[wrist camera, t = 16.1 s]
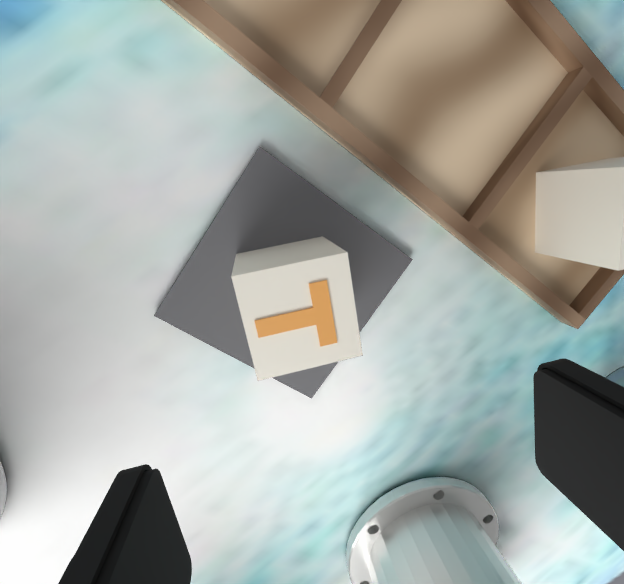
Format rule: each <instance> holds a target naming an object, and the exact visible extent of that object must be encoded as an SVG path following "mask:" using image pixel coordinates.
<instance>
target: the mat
mask: <svg viewBox="0 0 624 584" xmlns="http://www.w3.org/2000/svg"><path fill="white" fill-rule="evenodd" d="M322 236H323V237H324V238H326V239H327V240H329V241H331V242H332V243H334V244H335V245H337V246H339V247H340V248H342V249H343V250H345V251H346V252H348V259H349V266H350V273H351V279H352V286H353V293H354V300H355V306H356V313H357V320H358V327H359V332H360V331H361V330H362V328H363V327H364V326H365V324H366V323H367V321H368V320H369V319H370V317H371V316H372V315H373V313H374V312H375V310H376V309H377V308H378V306H379V305H380V304H381V302H382V301H383V299H384V298H385V297H386V295H387V294H388V293H389V291H390V290H391V288H392V287H393V286H394V284H395V283H396V282H397V280H398V279H399V277H400V276H401V275H402V273H403V272H404V271H405V269H406V268H407V266H408V265H409V264H410V262H411V261H412V260H413V259H411V258H410V257H409V256H407V255H406V254H405V253H403V252H402V251H401V250H399V249H398V248H397V247H395V246H394V245H393V244H391V243H390V242H388V241H387V240H386V239H384V238H383V237H382V236H380V235H379V234H378V233H376V232H375V231H374V230H372V229H371V228H370V227H368V226H367V225H365V224H364V223H363V222H361V221H360V220H359V219H357V218H356V217H355V216H353V215H352V214H351V213H349V212H348V211H347V210H345V209H344V208H343V207H341V206H340V205H338V204H337V203H336V202H334V201H333V200H332V199H330V198H329V197H328V196H326V195H325V194H324V193H322V192H321V191H320V190H318V189H317V188H315V187H314V186H313V185H311V184H310V183H309V182H307V181H306V180H305V179H303V178H302V177H301V176H299V175H298V174H297V173H295V172H294V171H293V170H291V169H290V168H288V167H287V166H286V165H284V164H283V163H282V162H280V161H279V160H278V159H276V158H275V157H274V156H272V155H271V154H270V153H268V152H267V151H266V150H264V149H263V148H261V147H259V148H258V150H257V151H256V153H255V155H254V156H253V158H252V159H251V161H250V163H249V164H248V166H247V167H246V169H245V171H244V172H243V174H242V175H241V177H240V179H239V180H238V182H237V183H236V185H235V187H234V188H233V190H232V191H231V193H230V195H229V196H228V198H227V200H226V201H225V203H224V204H223V206H222V208H221V209H220V211H219V212H218V214H217V216H216V217H215V219H214V220H213V222H212V224H211V225H210V227H209V228H208V230H207V232H206V233H205V235H204V236H203V238H202V240H201V241H200V243H199V244H198V246H197V248H196V249H195V251H194V252H193V254H192V256H191V257H190V259H189V260H188V262H187V264H186V265H185V267H184V268H183V270H182V272H181V273H180V275H179V276H178V278H177V280H176V281H175V283H174V284H173V286H172V288H171V289H170V291H169V292H168V294H167V296H166V297H165V299H164V300H163V302H162V304H161V305H160V307H159V308H158V310H157V312H156V313H155V315H154V316H156V317H157V318H159V319H161V320H163V321H165V322H167V323H169V324H171V325H173V326H175V327H177V328H178V329H180V330H182V331H184V332H186V333H188V334H190V335H192V336H194V337H196V338H198V339H199V340H201V341H203V342H205V343H207V344H209V345H211V346H213V347H215V348H217V349H218V350H220V351H222V352H224V353H226V354H228V355H230V356H232V357H234V358H236V359H238V360H239V361H241V362H243V363H245V364H247V365H249V366H251V367H253V368H254V364H253V360H252V356H251V352H250V349H249V345H248V341H247V337H246V333H245V329H244V325H243V321H242V317H241V313H240V309H239V305H238V301H237V297H236V293H235V289H234V286H233V282H232V278H231V275H232V271H233V266H234V262H235V257H236V254H238V253H243V252H248V251H253V250H258V249H263V248H268V247H273V246H278V245H283V244H288V243H293V242H297V241H302V240H307V239H312V238H317V237H322ZM337 363H338V362H334V363H330V364H326V365H322V366H318V367H313V368H309V369H305V370H301V371H297V372H293V373H289V374H285V375H281V376H277V377H272V378H274V379H276V380H278V381H279V382H281V383H283V384H285V385H287V386H289V387H291V388H293V389H295V390H297V391H299V392H300V393H302V394H304V395H306V396H308V397H310V398H312V397H313V396H314V394H315V393H316V392H317V390H318V389H319V387H320V386H321V385H322V383H323V382H324V381H325V379H326V378H327V376H328V375H329V374H330V372H331V371H332V370H333V368H334V367H335V365H336V364H337Z"/></svg>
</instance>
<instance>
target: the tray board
mask: <svg viewBox="0 0 624 584" xmlns="http://www.w3.org/2000/svg"><path fill="white" fill-rule="evenodd" d="M161 1H162V2H163V3H165V4H166V5H167V6H168V7H170V8H171V9H172V10H173V11H175V12H176V13H177V14H178V15H180V16H181V17H182V18H183V19H185V20H186V21H187V22H188V23H190V24H191V25H192V26H193V27H195V28H196V29H197V30H198V31H200V32H201V33H202V34H203V35H205V36H206V37H207V38H208V39H210V40H211V41H212V42H213V43H214V44H216V45H217V46H218V47H219V48H221V49H222V50H223V51H224V52H226V53H227V54H228V55H229V56H231V57H232V58H233V59H234V60H236V61H237V62H238V63H239V64H241V65H242V66H243V67H244V68H246V69H247V70H248V71H249V72H251V73H252V74H253V75H254V76H256V77H257V78H258V79H259V80H261V81H262V82H263V83H264V84H265V85H267V86H268V87H269V88H270V89H272V90H273V91H274V92H275V93H277V94H278V95H279V96H280V97H282V98H283V99H284V100H285V101H287V102H288V103H289V104H290V105H292V106H293V107H294V108H295V109H297V110H298V111H299V112H300V113H302V114H303V115H304V116H305V117H307V118H308V119H309V120H310V121H312V122H313V123H314V124H315V125H317V126H318V127H319V128H320V129H321V130H323V131H324V132H325V133H326V134H328V135H329V136H330V137H331V138H333V139H334V140H335V141H336V142H338V143H339V144H340V145H341V146H343V147H344V148H345V149H346V150H348V151H349V152H350V153H351V154H353V155H354V156H355V157H356V158H358V159H359V160H360V161H361V162H363V163H364V164H365V165H366V166H368V167H369V168H370V169H371V170H372V171H374V172H375V173H376V174H377V175H379V176H380V177H381V178H382V179H384V180H385V181H386V182H387V183H389V184H390V185H391V186H392V187H394V188H395V189H396V190H397V191H399V192H400V193H401V194H402V195H404V196H405V197H406V198H407V199H409V200H410V201H411V202H412V203H414V204H415V205H416V206H417V207H419V208H420V209H421V210H422V211H424V212H425V213H426V214H427V215H428V216H430V217H431V218H432V219H433V220H435V221H436V222H437V223H438V224H440V225H441V226H442V227H443V228H445V229H446V230H447V231H448V232H450V233H451V234H452V235H453V236H455V237H456V238H457V239H458V240H460V241H461V242H462V243H463V244H465V245H466V246H467V247H468V248H470V249H471V250H472V251H473V252H475V253H476V254H477V255H478V256H479V257H481V258H482V259H483V260H484V261H486V262H487V263H488V264H489V265H491V266H492V267H493V268H494V269H496V270H497V271H498V272H499V273H501V274H502V275H503V276H504V277H506V278H507V279H508V280H509V281H511V282H512V283H513V284H514V285H516V286H517V287H518V288H519V289H521V290H522V291H523V292H524V293H526V294H527V295H528V296H529V297H531V298H532V299H533V300H534V301H535V302H537V303H538V304H539V305H540V306H542V307H543V308H544V309H545V310H547V311H548V312H549V313H550V314H552V315H553V316H554V317H555V318H557V319H558V320H559V321H560V322H562V323H565V324H567V325H569V326H572V327H574V328H577V329H579V327H580V326H581V325H582V324H583V323H584V321H585V320H586V319H587V318H588V316H589V315H590V314H591V313H592V312H593V310H594V309H595V308H596V307H597V306H598V304H599V303H600V302H601V301H602V300H603V298H604V297H605V296H606V295H607V294H608V292H609V291H610V290H611V289H612V288H613V286H614V285H615V284H616V283H617V282H618V280H619V279H620V278H621V277H622V276H623V274H624V270H619V271H618V270H613V269H608V268H604V267H599V266H595V265H590V264H585V263H581V262H576V261H572V260H567V259H562V258H558V257H553V256H549V255H544V254H539V253H535V206H536V172H541V171H546V170H551V169H556V168H561V167H566V166H571V165H576V164H582V163H587V162H592V161H597V160H602V159H607V158H616V157H624V90H623V89H622V87H621V86H620V85H619V84H618V82H617V81H616V80H615V79H614V78H613V76H612V75H611V74H610V73H609V71H608V70H607V69H606V68H605V67H604V65H603V64H602V63H601V62H600V60H599V59H598V58H597V57H596V56H595V54H594V53H593V52H592V51H591V50H590V48H589V47H588V46H587V45H586V43H585V42H584V41H583V40H582V39H581V37H580V36H579V35H578V34H577V32H576V31H575V30H574V29H573V28H572V26H571V25H570V24H569V23H568V21H567V20H566V19H565V18H564V17H563V15H562V14H561V13H560V12H559V10H558V9H557V8H556V7H555V6H554V4H553V3H552V2H551V1H550V0H161Z"/></svg>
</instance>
